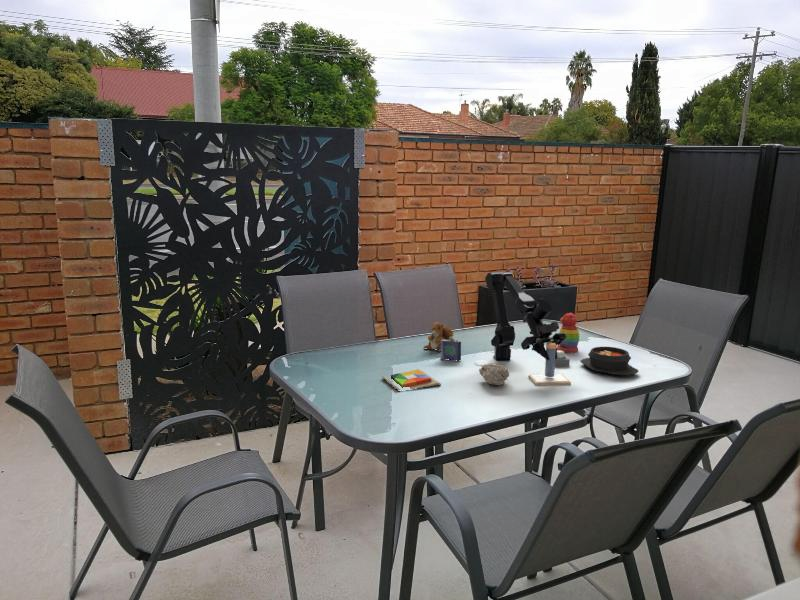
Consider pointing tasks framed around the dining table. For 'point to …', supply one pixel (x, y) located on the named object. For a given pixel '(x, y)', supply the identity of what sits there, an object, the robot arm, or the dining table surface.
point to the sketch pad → (550, 380)
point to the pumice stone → (494, 374)
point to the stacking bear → (569, 334)
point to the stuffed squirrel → (438, 336)
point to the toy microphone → (550, 359)
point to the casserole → (609, 361)
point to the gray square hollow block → (562, 361)
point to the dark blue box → (451, 349)
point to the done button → (560, 354)
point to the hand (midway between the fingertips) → (552, 359)
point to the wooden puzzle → (412, 379)
